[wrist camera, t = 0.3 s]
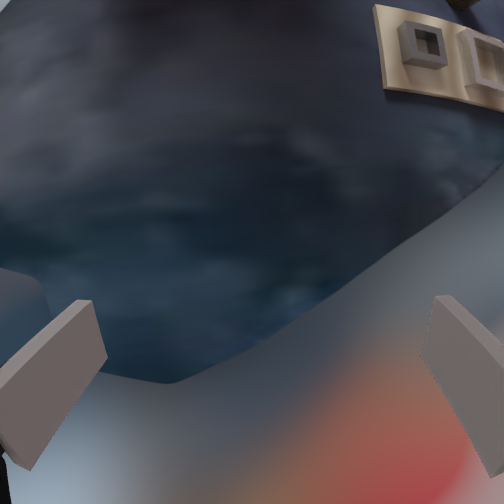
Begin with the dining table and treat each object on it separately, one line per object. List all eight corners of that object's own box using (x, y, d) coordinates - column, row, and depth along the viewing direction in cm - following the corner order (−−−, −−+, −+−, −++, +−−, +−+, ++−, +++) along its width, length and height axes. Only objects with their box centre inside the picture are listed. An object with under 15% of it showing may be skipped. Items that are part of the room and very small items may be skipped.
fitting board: (496, 43, 27) (512, 36, 23) (507, 113, 30) (525, 112, 26) (372, 8, 28) (382, -6, 24) (383, 88, 32) (396, 81, 28)
